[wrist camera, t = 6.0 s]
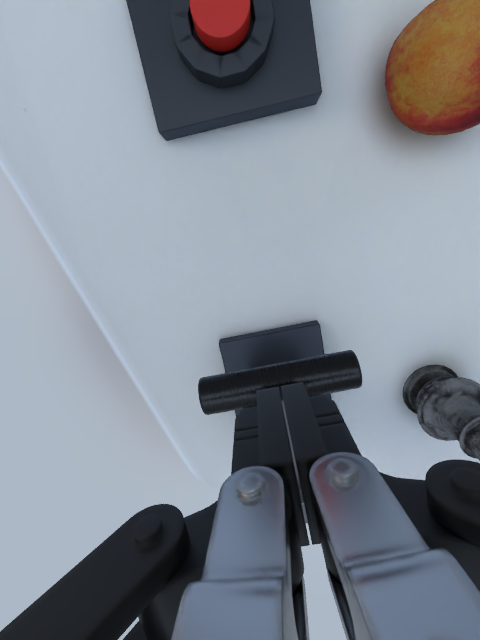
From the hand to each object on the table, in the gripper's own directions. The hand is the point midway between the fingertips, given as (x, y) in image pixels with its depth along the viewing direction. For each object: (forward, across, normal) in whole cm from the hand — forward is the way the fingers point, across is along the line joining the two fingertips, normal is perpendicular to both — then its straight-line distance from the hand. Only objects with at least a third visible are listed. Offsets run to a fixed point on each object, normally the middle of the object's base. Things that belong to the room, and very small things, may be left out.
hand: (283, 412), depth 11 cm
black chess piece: (+20, -14, +12) cm, 27 cm away
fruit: (+20, -15, -13) cm, 28 cm away
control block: (+20, -1, -19) cm, 27 cm away
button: (+16, -1, -19) cm, 25 cm away
